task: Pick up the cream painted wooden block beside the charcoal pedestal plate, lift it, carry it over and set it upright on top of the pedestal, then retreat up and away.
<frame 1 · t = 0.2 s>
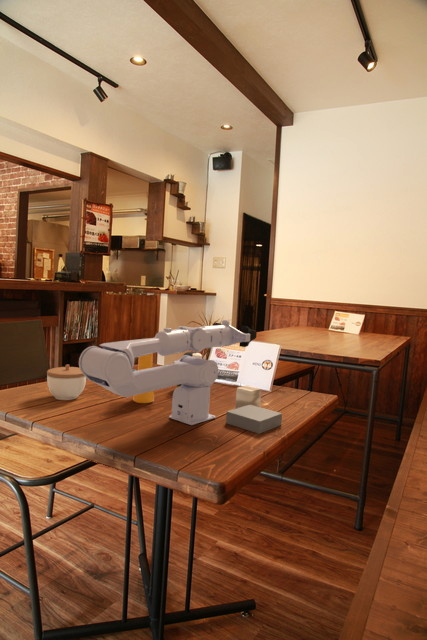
hand: (244, 332, 121), 21 cm above the table, tool horizontal, fingers open, 7 cm apart
cream block: (247, 409, 119), on the table
medicine bottle: (190, 389, 138), on the table
lidded jar: (66, 398, 119), on the table
cylinder: (143, 401, 120), on the table
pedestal: (253, 424, 105), on the table
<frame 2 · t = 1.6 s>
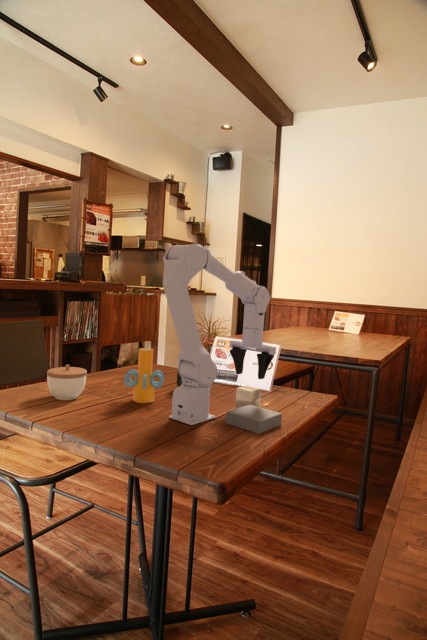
hand: (249, 376, 118), 9 cm above the table, tool pointing down, fingers open, 7 cm apart
nothing on the table moved.
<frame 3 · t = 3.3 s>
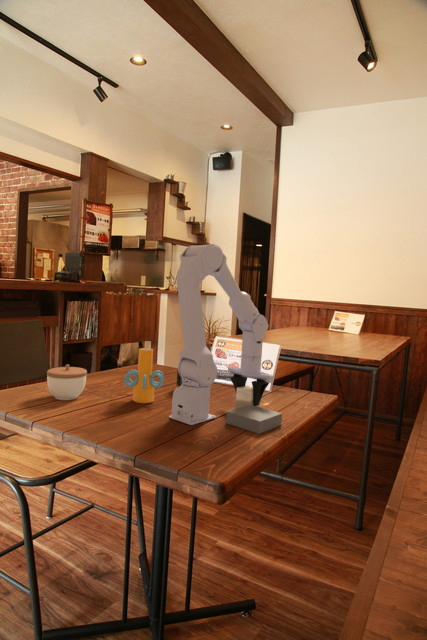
hand: (248, 403, 118), 2 cm above the table, tool pointing down, fingers closed on cream block, 5 cm apart
cream block: (247, 408, 119), on the table, touching gripper
everything else where it was.
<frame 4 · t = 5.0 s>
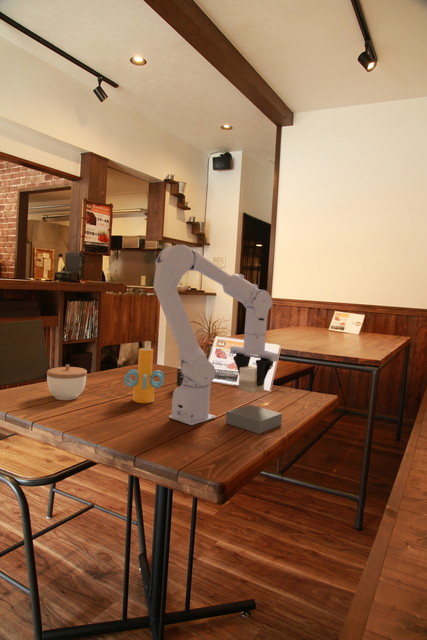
hand: (251, 383, 113), 8 cm above the table, tool pointing down, fingers closed on cream block, 5 cm apart
cream block: (251, 389, 113), point 7 cm above the table, touching gripper
everything else where it was.
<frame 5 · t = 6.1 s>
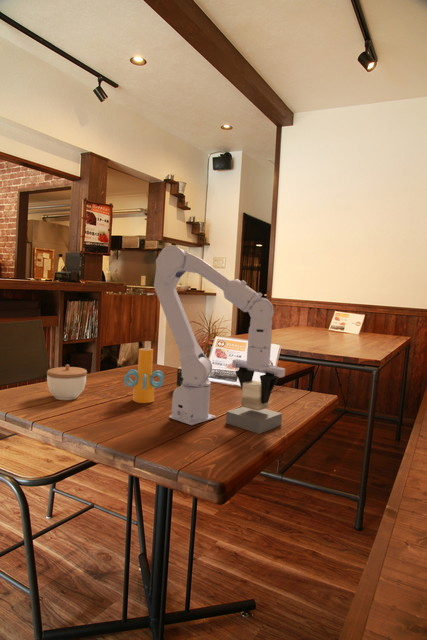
hand: (255, 400, 105), 6 cm above the table, tool pointing down, fingers closed on cream block, 5 cm apart
cream block: (255, 406, 105), point 4 cm above the table, touching gripper
everything else where it was.
when the fingers open (6 cm above the table, at t = 7.0 s): cream block drops 1 cm, resting on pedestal.
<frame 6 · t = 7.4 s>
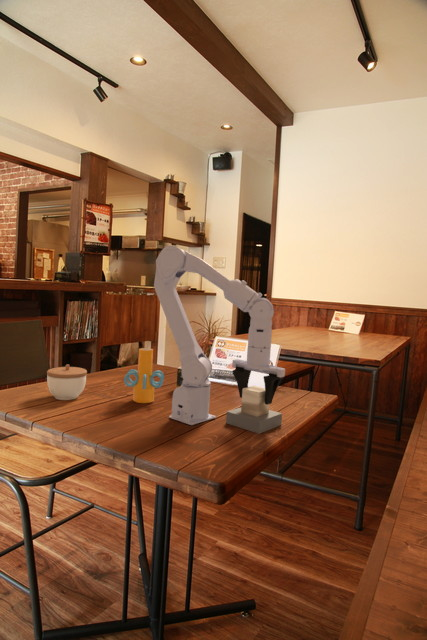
hand: (255, 400, 105), 6 cm above the table, tool pointing down, fingers open, 7 cm apart
cream block: (254, 412, 105), point 3 cm above the table, touching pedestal
everything else where it was.
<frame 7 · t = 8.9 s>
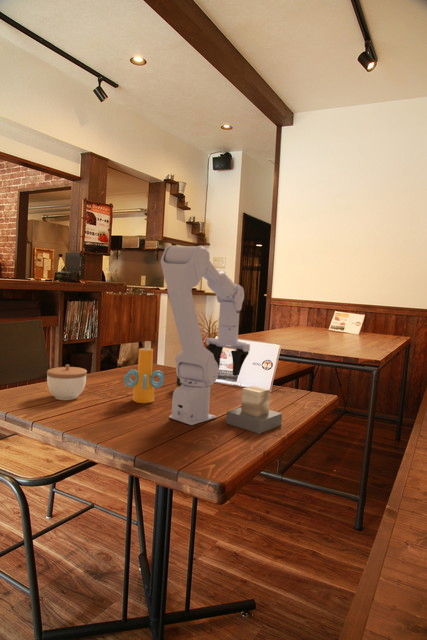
hand: (225, 372, 120), 9 cm above the table, tool pointing down, fingers open, 7 cm apart
nothing on the table moved.
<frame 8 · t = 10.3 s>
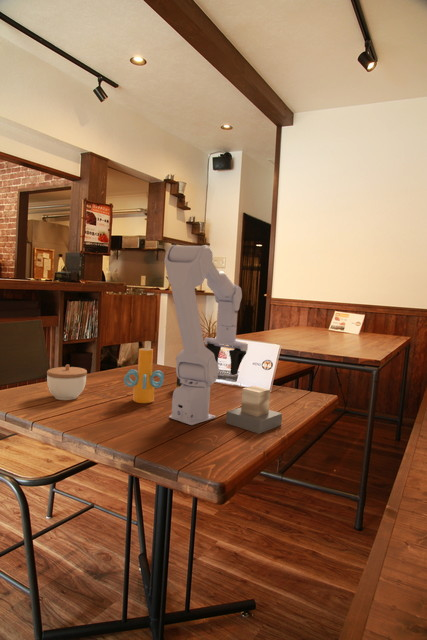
hand: (223, 372, 121), 9 cm above the table, tool pointing down, fingers open, 7 cm apart
nothing on the table moved.
at the end: cream block 0.1 cm off-centre on the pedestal, point 3.0 cm above the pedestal's base; cream block tilted 0°; the gripper is holding nothing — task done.
